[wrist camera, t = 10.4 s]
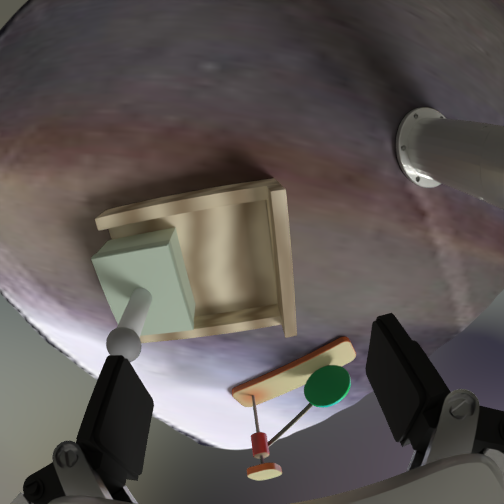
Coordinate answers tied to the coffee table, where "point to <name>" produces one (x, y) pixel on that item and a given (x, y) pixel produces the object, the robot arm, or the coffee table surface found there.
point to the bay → (224, 253)
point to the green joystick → (144, 288)
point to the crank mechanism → (289, 378)
